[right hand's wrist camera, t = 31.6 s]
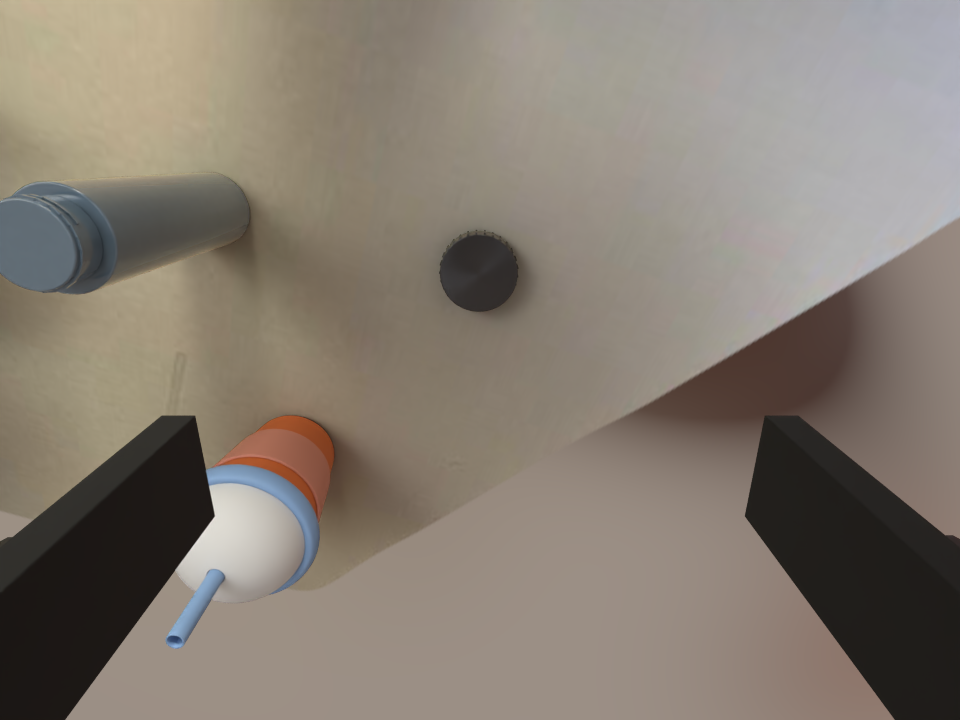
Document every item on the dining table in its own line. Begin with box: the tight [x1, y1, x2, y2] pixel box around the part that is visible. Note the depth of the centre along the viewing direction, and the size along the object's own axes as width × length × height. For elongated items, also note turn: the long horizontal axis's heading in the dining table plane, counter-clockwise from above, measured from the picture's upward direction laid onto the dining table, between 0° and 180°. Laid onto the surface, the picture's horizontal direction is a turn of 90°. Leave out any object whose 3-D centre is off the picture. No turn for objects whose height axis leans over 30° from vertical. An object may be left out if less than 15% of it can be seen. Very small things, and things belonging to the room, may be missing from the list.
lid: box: [439, 230, 518, 312], centre depth 37 cm, size 5×5×2 cm
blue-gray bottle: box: [0, 172, 250, 294], centre depth 29 cm, size 5×5×16 cm
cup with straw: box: [166, 416, 334, 648], centre depth 34 cm, size 9×9×18 cm
